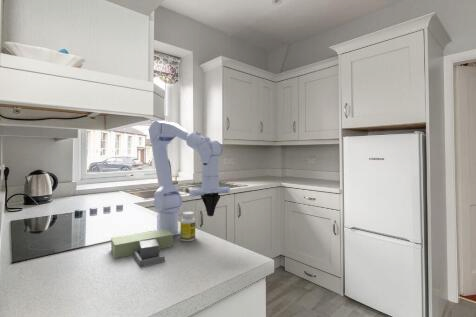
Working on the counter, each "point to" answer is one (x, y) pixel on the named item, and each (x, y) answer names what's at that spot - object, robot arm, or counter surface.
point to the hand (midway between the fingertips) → (210, 215)
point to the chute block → (148, 249)
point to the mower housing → (131, 245)
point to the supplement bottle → (187, 227)
